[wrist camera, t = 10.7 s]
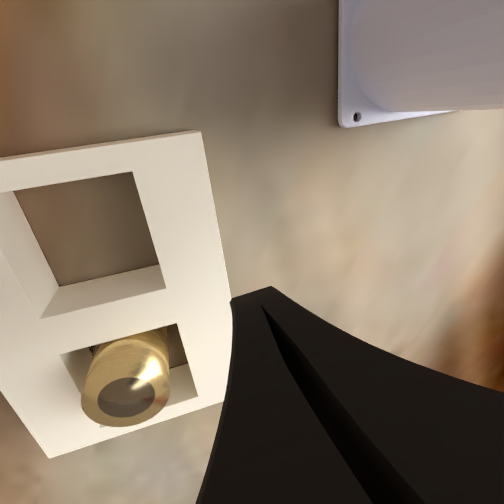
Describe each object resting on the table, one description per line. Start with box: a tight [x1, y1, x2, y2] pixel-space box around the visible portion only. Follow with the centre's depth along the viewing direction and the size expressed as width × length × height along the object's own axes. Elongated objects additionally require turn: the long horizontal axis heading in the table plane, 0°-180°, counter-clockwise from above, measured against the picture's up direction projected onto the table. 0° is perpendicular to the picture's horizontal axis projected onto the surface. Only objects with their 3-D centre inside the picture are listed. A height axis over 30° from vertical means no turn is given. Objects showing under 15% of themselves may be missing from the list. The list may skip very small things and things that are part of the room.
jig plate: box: [0, 130, 232, 459], centre depth 16 cm, size 12×16×3 cm
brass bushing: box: [81, 326, 170, 427], centre depth 16 cm, size 4×4×5 cm
